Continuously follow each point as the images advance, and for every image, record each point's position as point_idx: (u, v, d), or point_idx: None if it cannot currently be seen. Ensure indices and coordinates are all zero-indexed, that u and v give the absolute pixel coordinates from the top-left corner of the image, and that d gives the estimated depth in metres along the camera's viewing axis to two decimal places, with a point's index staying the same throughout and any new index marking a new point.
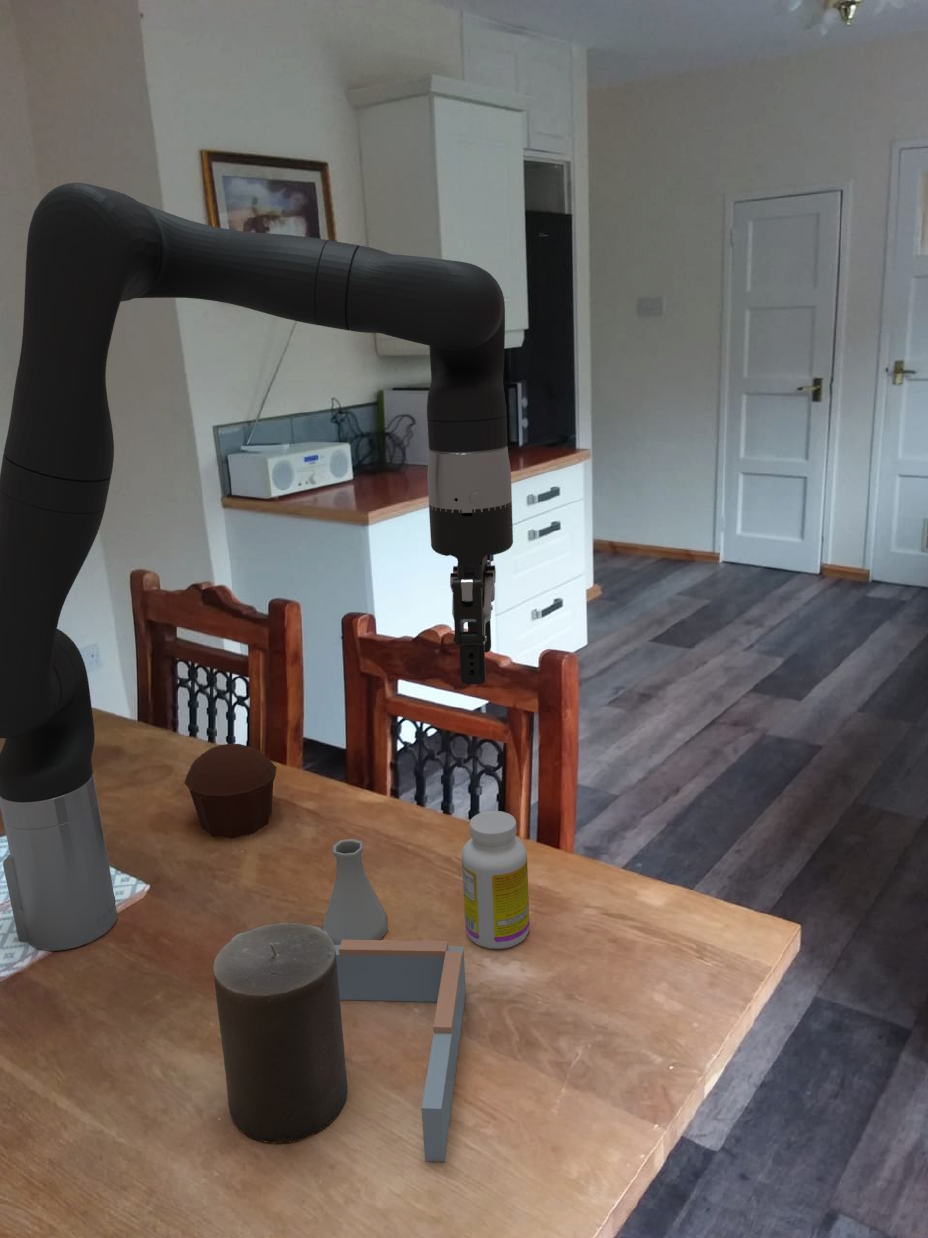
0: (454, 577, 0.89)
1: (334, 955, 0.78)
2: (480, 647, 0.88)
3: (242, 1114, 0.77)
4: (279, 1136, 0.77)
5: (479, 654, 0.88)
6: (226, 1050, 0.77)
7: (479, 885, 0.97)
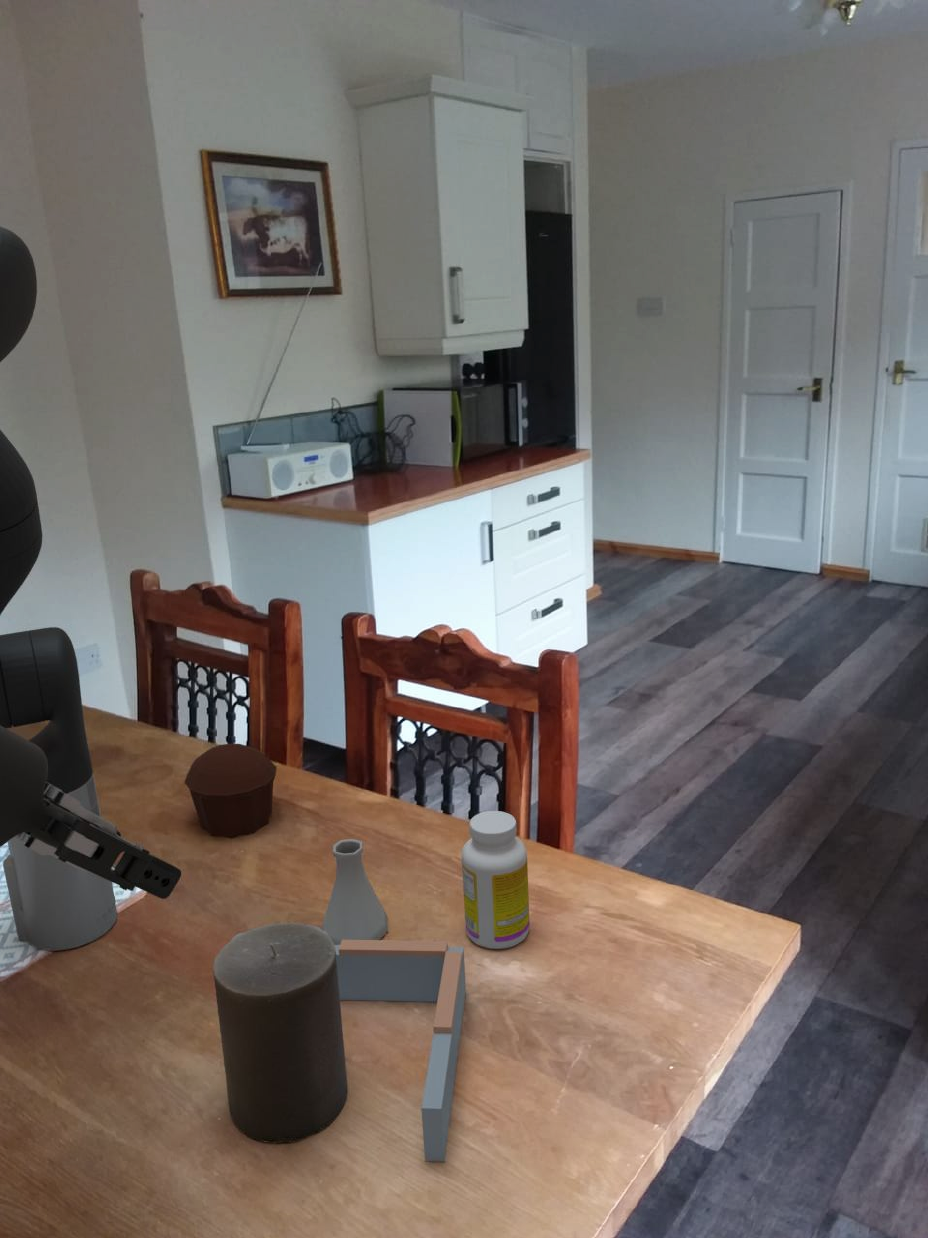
0: None
1: (334, 955, 0.78)
2: None
3: (242, 1114, 0.77)
4: (279, 1136, 0.77)
5: None
6: (226, 1050, 0.77)
7: (479, 885, 0.97)
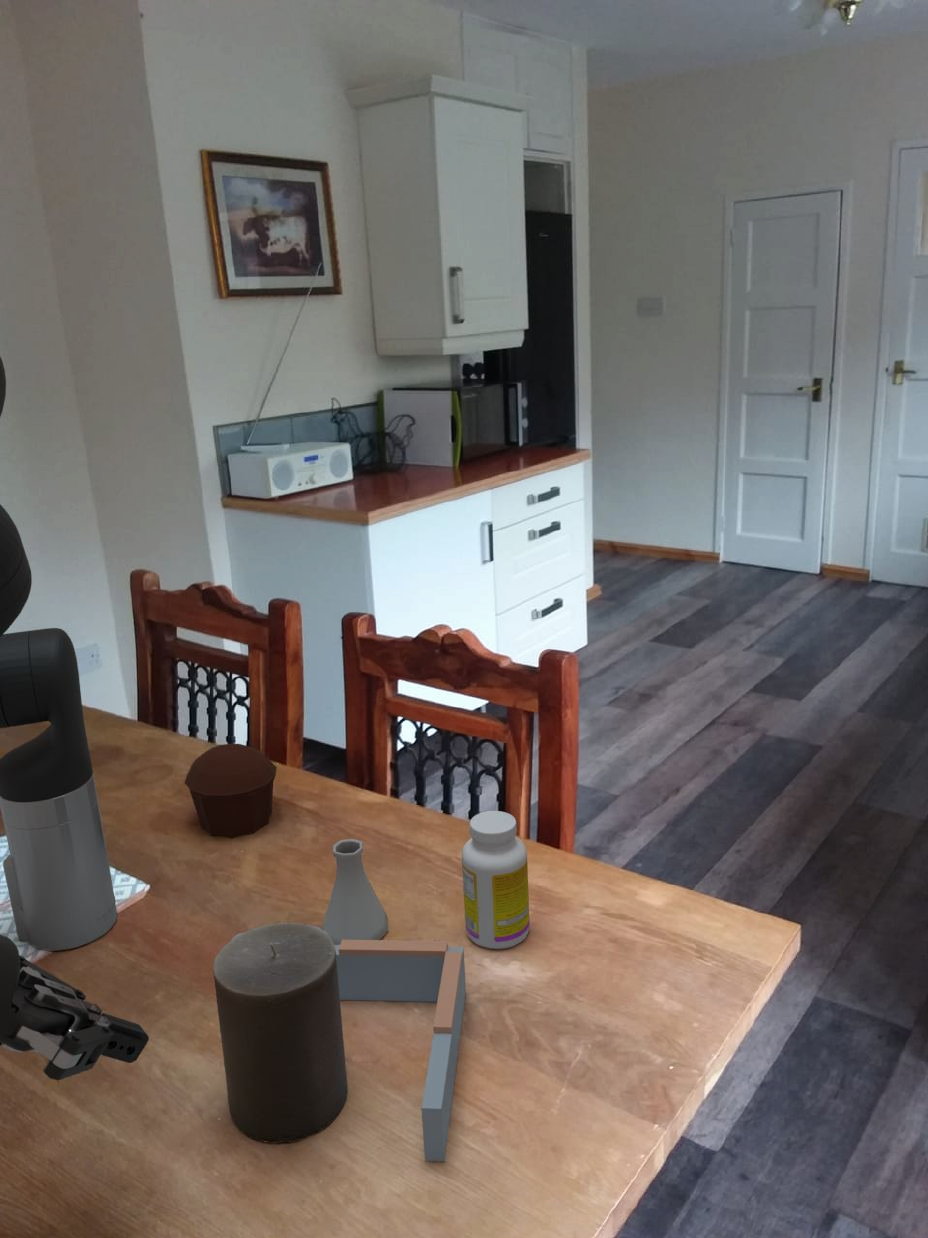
0: None
1: (334, 955, 0.78)
2: None
3: (242, 1114, 0.77)
4: (279, 1136, 0.77)
5: None
6: (226, 1050, 0.77)
7: (479, 885, 0.97)
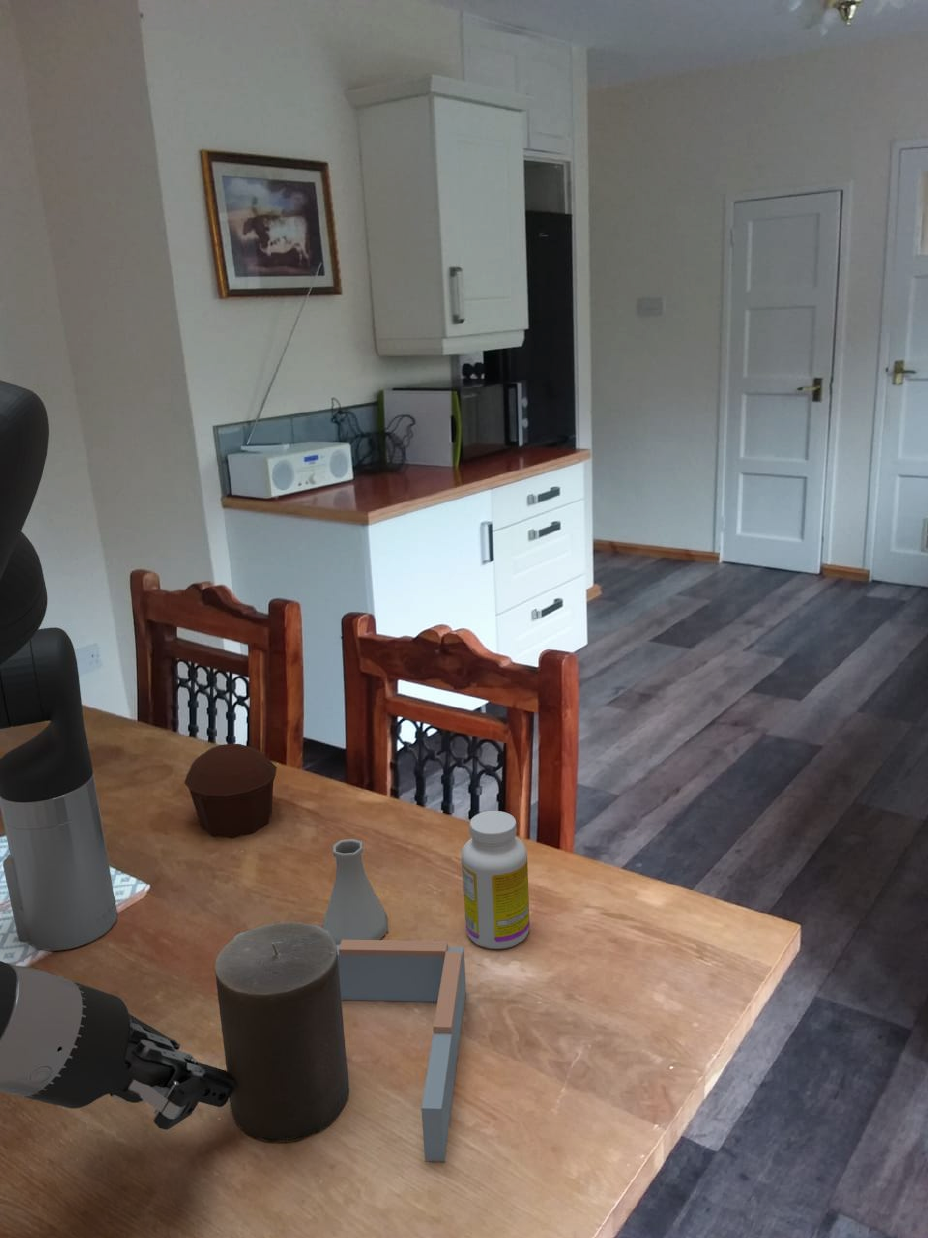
0: None
1: (336, 954, 0.78)
2: None
3: (244, 1113, 0.77)
4: (281, 1135, 0.77)
5: None
6: (228, 1049, 0.77)
7: (479, 885, 0.97)
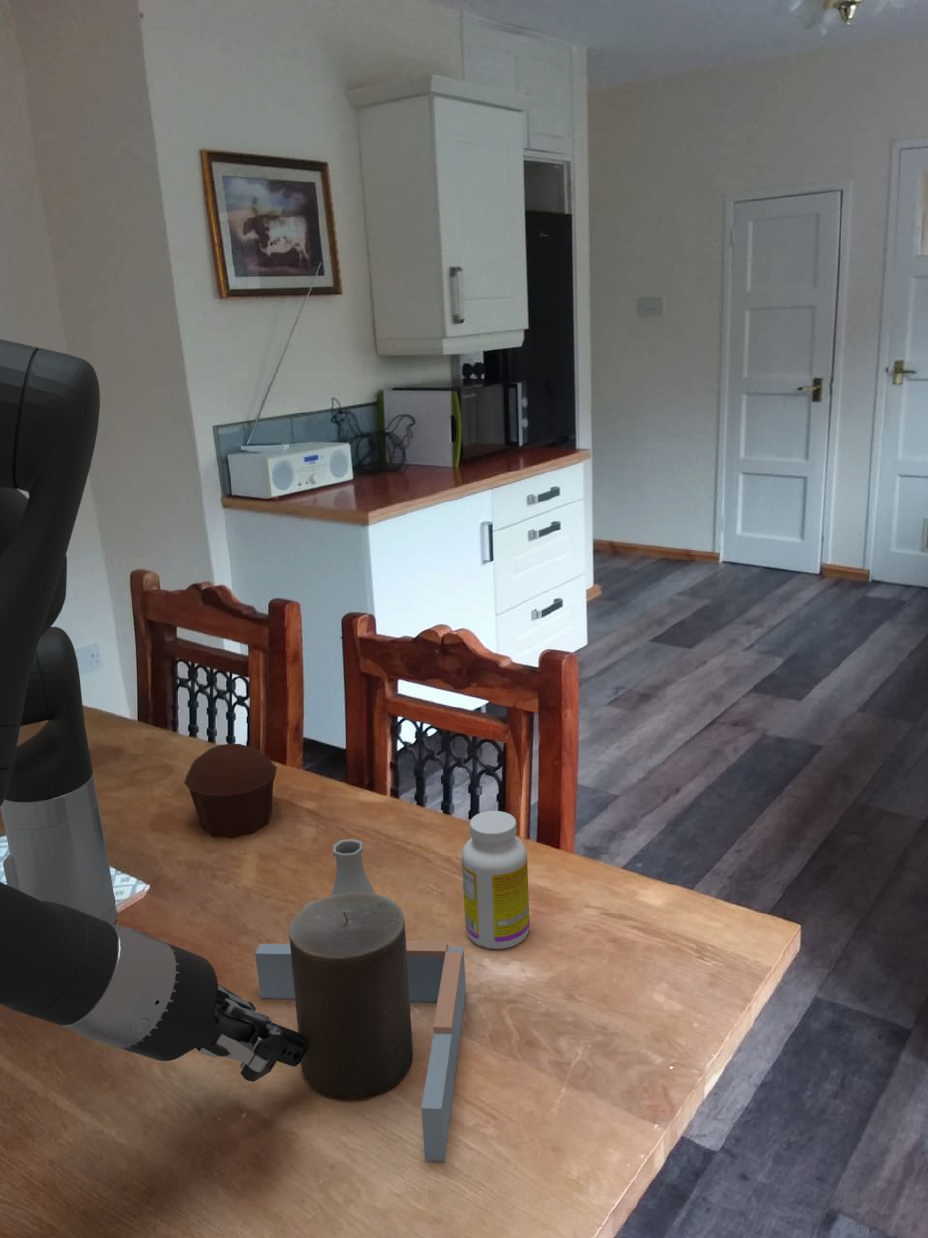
0: None
1: (403, 922, 0.81)
2: None
3: (316, 1072, 0.81)
4: (351, 1093, 0.81)
5: None
6: (301, 1011, 0.81)
7: (479, 885, 0.97)
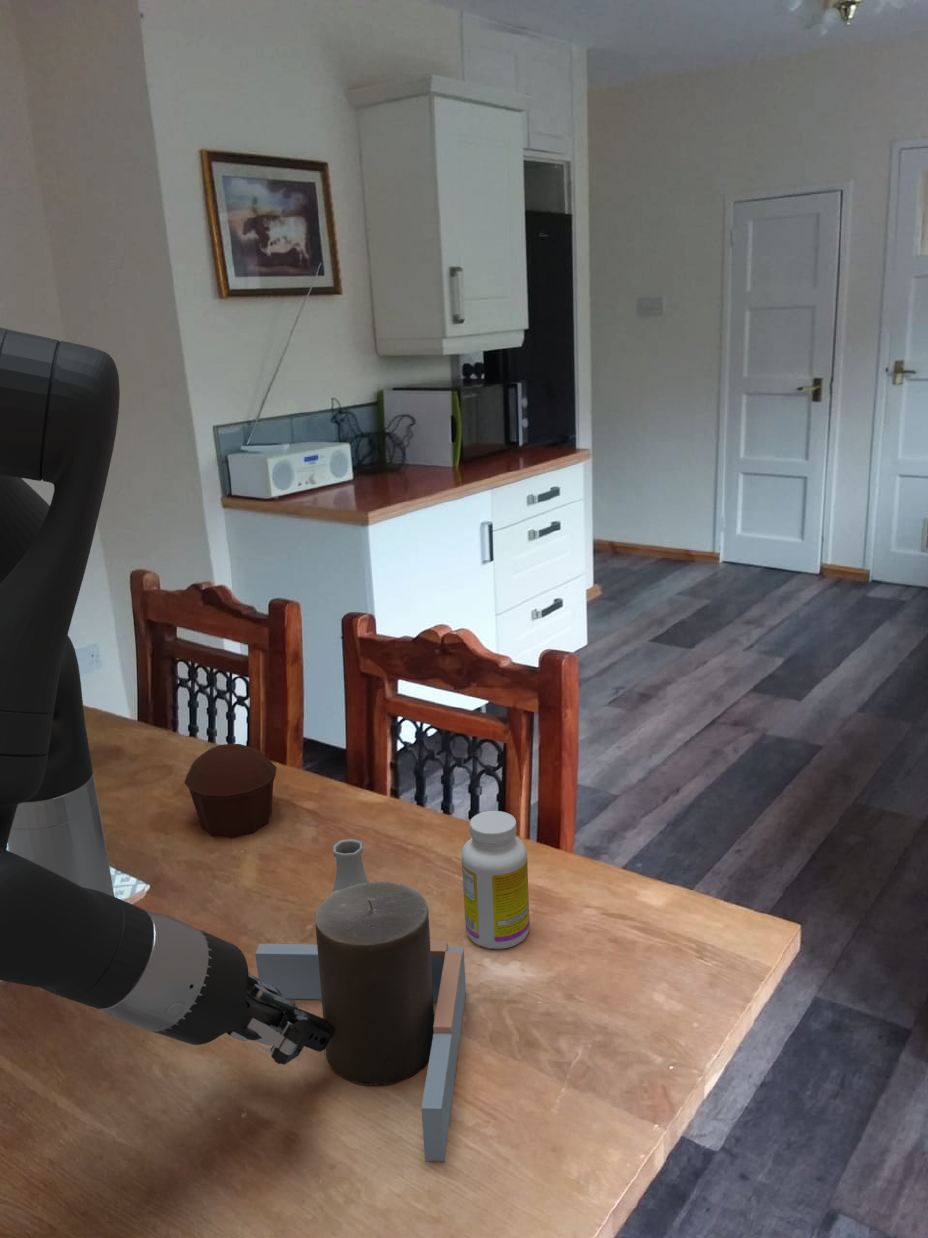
0: None
1: (427, 910, 0.83)
2: None
3: (341, 1057, 0.83)
4: (375, 1078, 0.82)
5: None
6: (326, 997, 0.82)
7: (479, 885, 0.97)
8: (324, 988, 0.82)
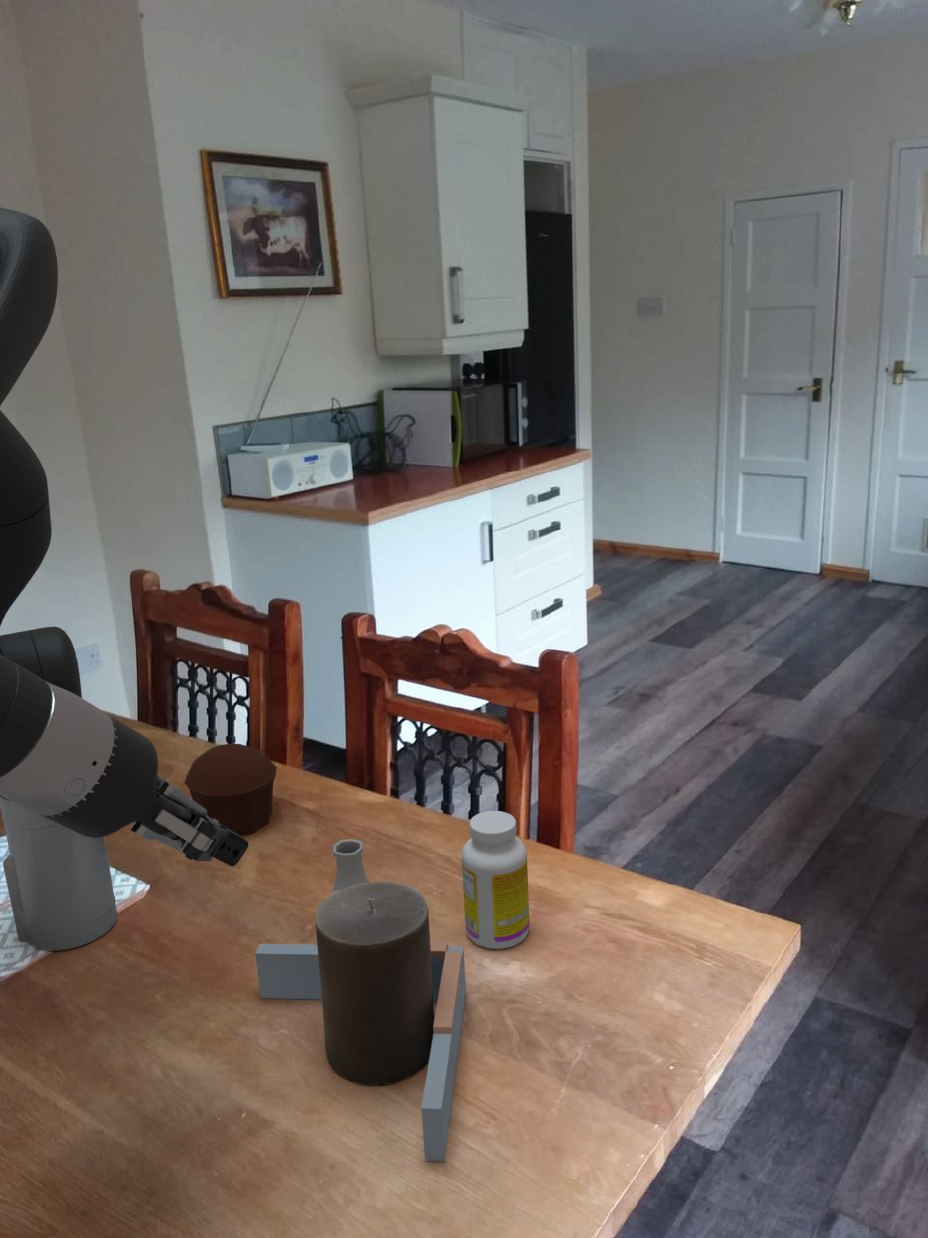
0: None
1: (427, 910, 0.83)
2: None
3: (341, 1057, 0.83)
4: (375, 1078, 0.82)
5: None
6: (327, 997, 0.82)
7: (479, 885, 0.97)
8: (324, 988, 0.82)
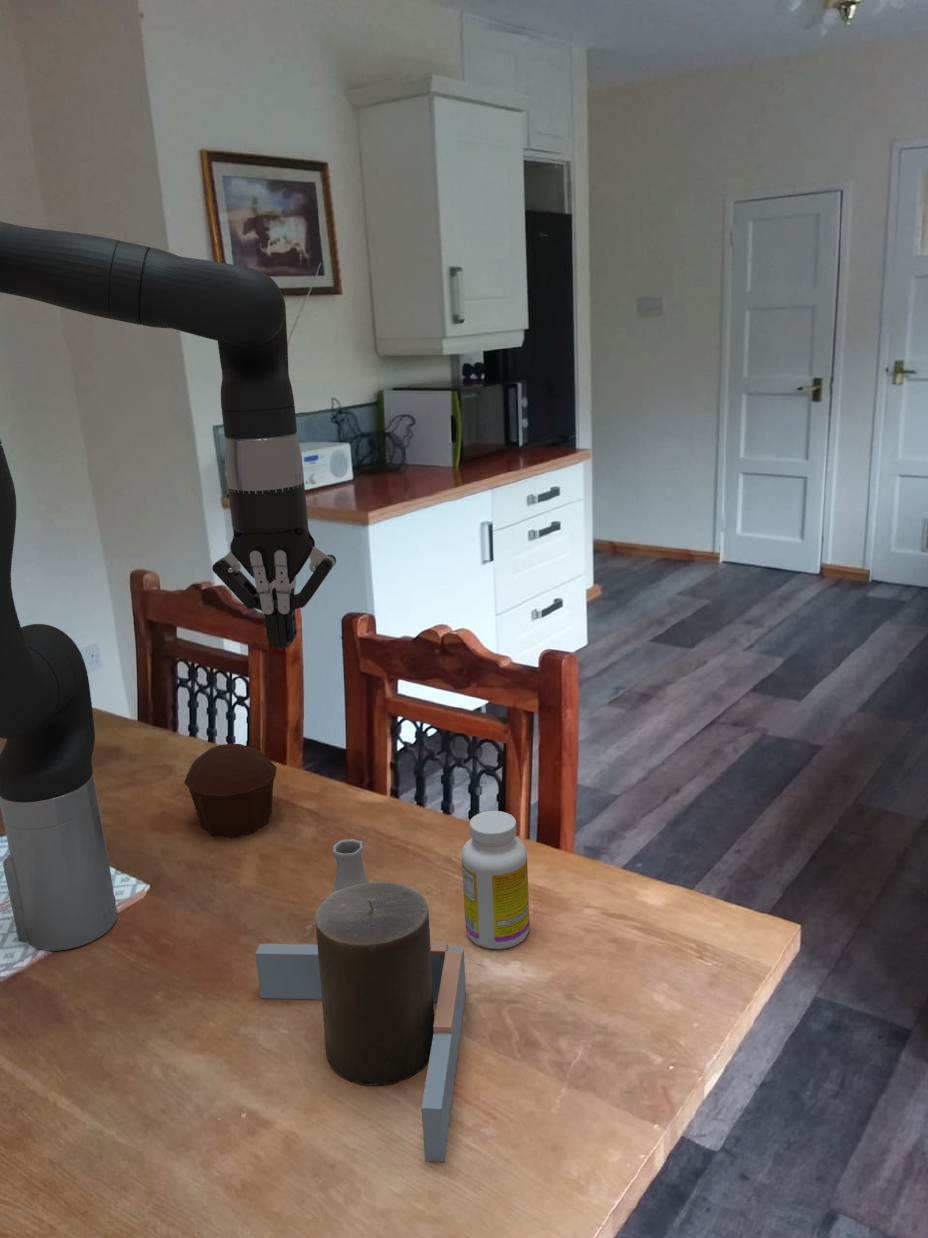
0: None
1: (427, 910, 0.83)
2: None
3: (341, 1058, 0.83)
4: (375, 1078, 0.82)
5: (268, 620, 1.02)
6: (327, 997, 0.82)
7: (479, 885, 0.97)
8: (324, 988, 0.82)
